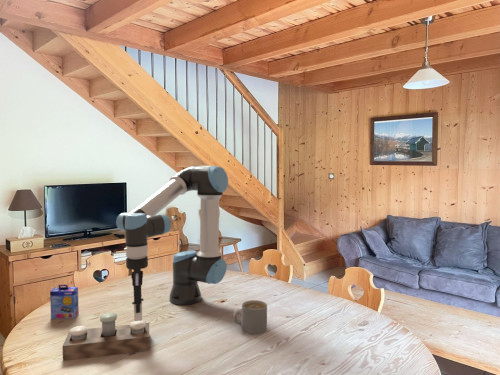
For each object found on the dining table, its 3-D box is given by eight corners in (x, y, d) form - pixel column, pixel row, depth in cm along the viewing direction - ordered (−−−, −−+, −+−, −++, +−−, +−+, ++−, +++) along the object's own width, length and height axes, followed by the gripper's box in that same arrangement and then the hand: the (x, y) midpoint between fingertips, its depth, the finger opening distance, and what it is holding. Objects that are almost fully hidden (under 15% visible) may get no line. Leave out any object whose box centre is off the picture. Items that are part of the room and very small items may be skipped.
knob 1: (88, 343, 137) (88, 325, 136) (86, 351, 131) (85, 331, 131) (71, 345, 135) (71, 326, 135) (68, 353, 130) (68, 333, 130)
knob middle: (117, 330, 139) (117, 312, 139) (116, 337, 134) (116, 318, 133) (101, 332, 138) (101, 313, 137) (99, 339, 132) (99, 319, 132)
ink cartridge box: (50, 319, 159) (49, 285, 158) (55, 314, 165) (54, 281, 164) (74, 318, 160) (73, 285, 159) (79, 313, 166) (78, 281, 165)
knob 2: (146, 337, 142) (145, 319, 142) (145, 344, 137) (145, 325, 136) (130, 339, 141) (130, 320, 140) (129, 346, 135) (129, 327, 135)
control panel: (149, 335, 145) (149, 322, 145) (149, 350, 134) (149, 336, 134) (70, 343, 138) (69, 330, 138) (62, 360, 127) (62, 346, 126)
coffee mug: (267, 324, 156) (268, 300, 155) (265, 335, 146) (265, 310, 145) (235, 322, 158) (235, 299, 157) (231, 333, 148) (231, 308, 147)
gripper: (126, 252, 142) (128, 314, 144) (124, 262, 129) (126, 328, 131) (147, 251, 144) (148, 311, 146) (147, 260, 131) (148, 326, 133)
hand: (138, 319), depth 138 cm, fingers closed
